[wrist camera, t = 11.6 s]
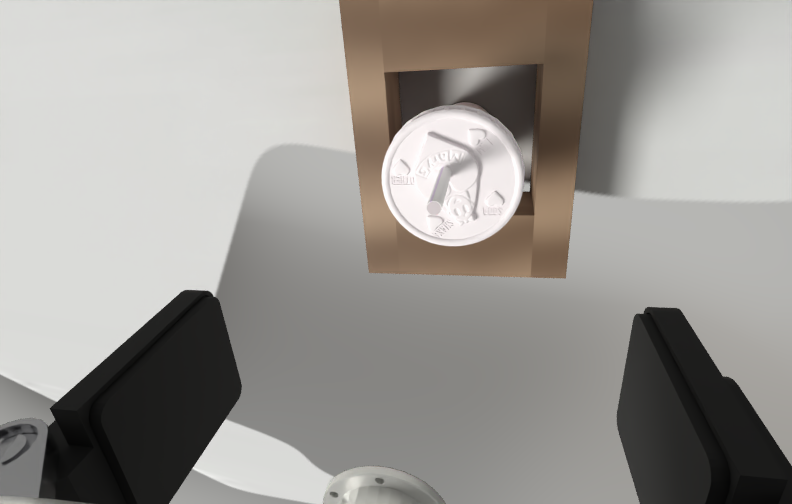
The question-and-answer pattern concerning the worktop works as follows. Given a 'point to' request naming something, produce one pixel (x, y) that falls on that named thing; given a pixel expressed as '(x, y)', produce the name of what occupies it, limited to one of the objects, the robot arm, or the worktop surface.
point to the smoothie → (453, 175)
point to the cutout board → (467, 48)
